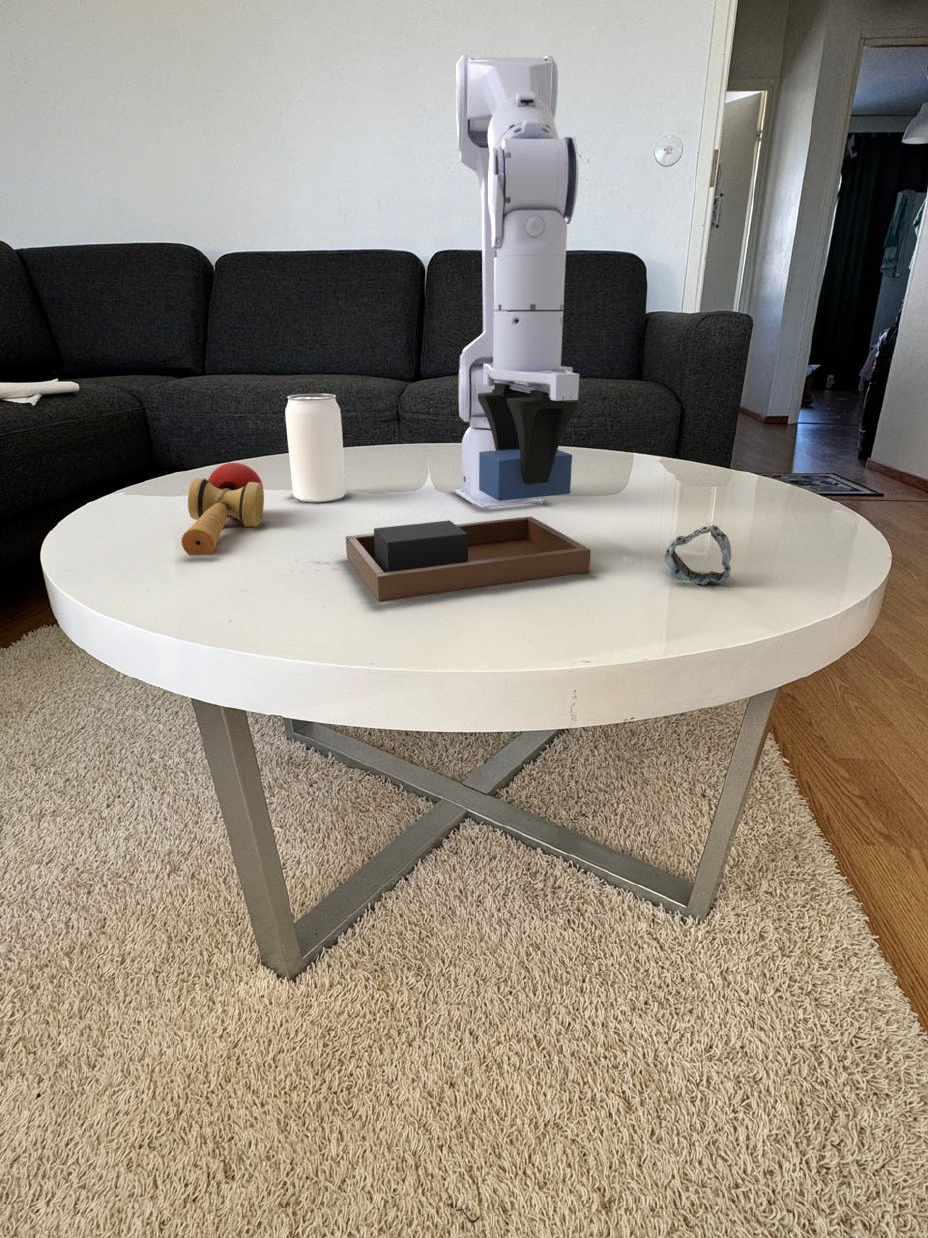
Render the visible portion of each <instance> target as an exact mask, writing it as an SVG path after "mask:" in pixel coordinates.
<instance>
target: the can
mask: <svg viewBox="0 0 928 1238" xmlns="http://www.w3.org/2000/svg"><path fill="white" fill-rule="evenodd" d="M336 398H337V395H336V394H331V393H302V394H301V393H299V394H292V395H288V396H287V399H288V400H287V404H286V407H285V410H284V415H285V426H286V427H285V428H286V436H287V447H288V457H289V459H288V460H289V467H290V468H289V469H290V477H291V478H290V479H291V487H292V495H293V497H294V498H295V499H296V500H297V501H299V502H303V503H311V504H312V503H314V504H315V503H327V502H328V503H329V502H335V501H339V500H341V499H343V498H344V496H345V495H346V494H347V486H346V485H347V484H346V471H345V470H346V469H345V455H344V440H343V426H342V413H341V408H340V406H339V403H338V402H337V400H336Z"/></svg>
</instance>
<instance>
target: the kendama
mask: <svg viewBox="0 0 928 1238" xmlns="http://www.w3.org/2000/svg"><path fill="white" fill-rule="evenodd" d="M264 491H265V490H264V485H263V481H262V480H261V477H260V476H259V474H258V473H257V472H256V471H255V470H254V469H253V468H251V467H250V466H248V465H247V464H244V463H240V462H229V463H223V464H221V465H220V466H217V467H216V468H215V469H214V470H213V471H212V472H211V473H210V475H209V477H208V479H207V478H205V477H195V478H194V479H192V481H191V483H190V485H189V489H188V495H187V510H188V514H189V516H190V518H191V519H192V520H196V521H195V522H194V523H193V524H192V525H191V526H190V527H188V529H187V530H186V531H185V532H184V533H183V535H182V537H181V546H182V548H183V550H184V552H185V553H186V554H187V555H189V556H194V555H196V556H197V555H213V553H214V551H215V548H216V546H217V544H218V540H219V538H220V535H221V534H222V531H223V530H224V526H225V525H226V522H227V518H229V519H237V520H238V521H239V522H241V524H242V525H243V526H244V527H245V528H246V527H249V528H255V527H257V526H260V524H261V521H262V518H263V513H264V506H265V505H264V504H265V492H264Z"/></svg>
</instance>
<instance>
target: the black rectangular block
mask: <svg viewBox="0 0 928 1238" xmlns="http://www.w3.org/2000/svg"><path fill="white" fill-rule="evenodd" d="M373 533H374V543H375V561H376V563H377V564H378V565H379V567H380V568H381V569H382V570H383V571H384V573H386V572H394V571H402V570H410V569H418V568H426V567H434V566H442V565H449V564H457V563H465V562H468V534H467V533H466V532H465V531H463V530H462V529H461V528H459V527H458V526H457V524H456V523H454V522H453V521H451V520H441V521H431V522H421V523H412V524H402V525H394V526H383V527H374V528H373Z"/></svg>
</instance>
